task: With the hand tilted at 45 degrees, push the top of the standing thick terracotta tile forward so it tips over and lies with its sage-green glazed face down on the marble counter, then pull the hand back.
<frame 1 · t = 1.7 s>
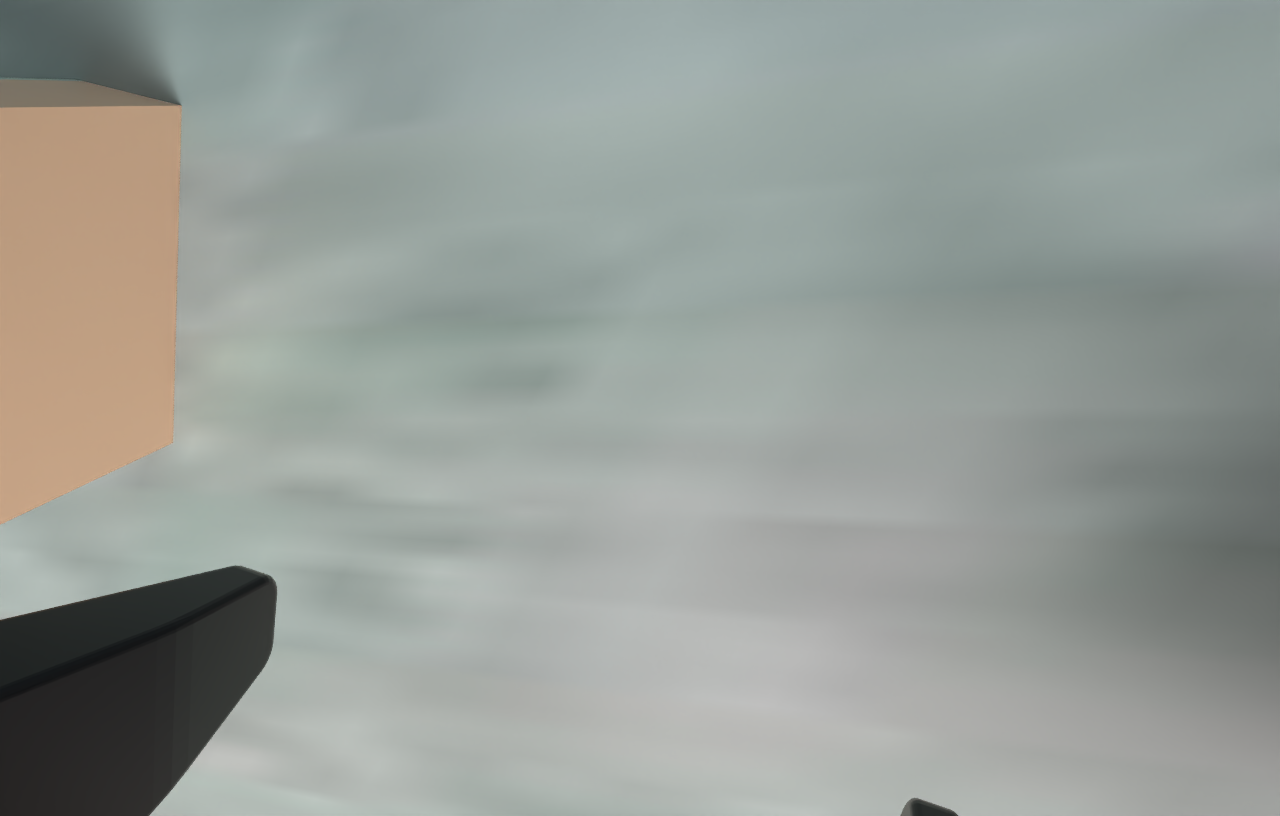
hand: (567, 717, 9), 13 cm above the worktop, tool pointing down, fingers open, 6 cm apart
tile: (128, 270, 25), on the worktop
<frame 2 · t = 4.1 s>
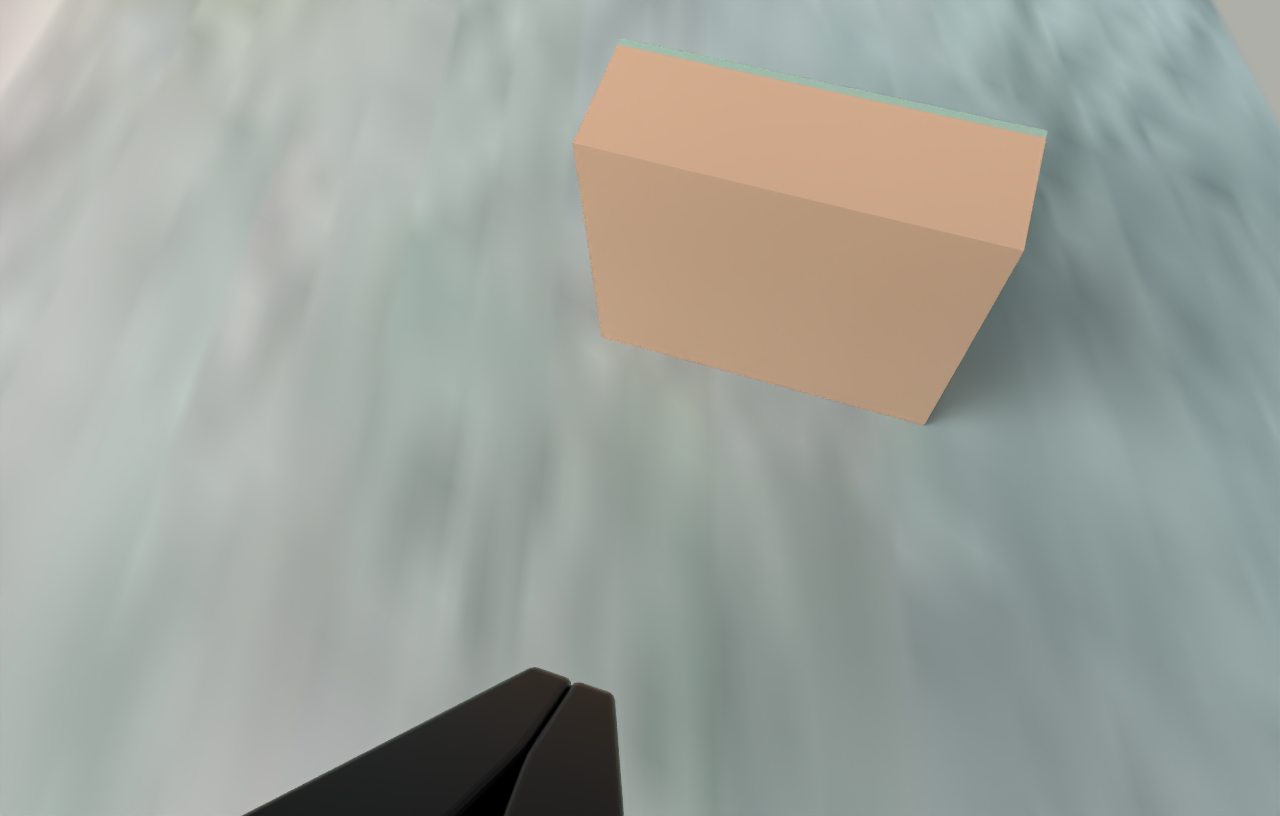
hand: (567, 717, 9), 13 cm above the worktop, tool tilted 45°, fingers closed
tile: (772, 334, 26), on the worktop
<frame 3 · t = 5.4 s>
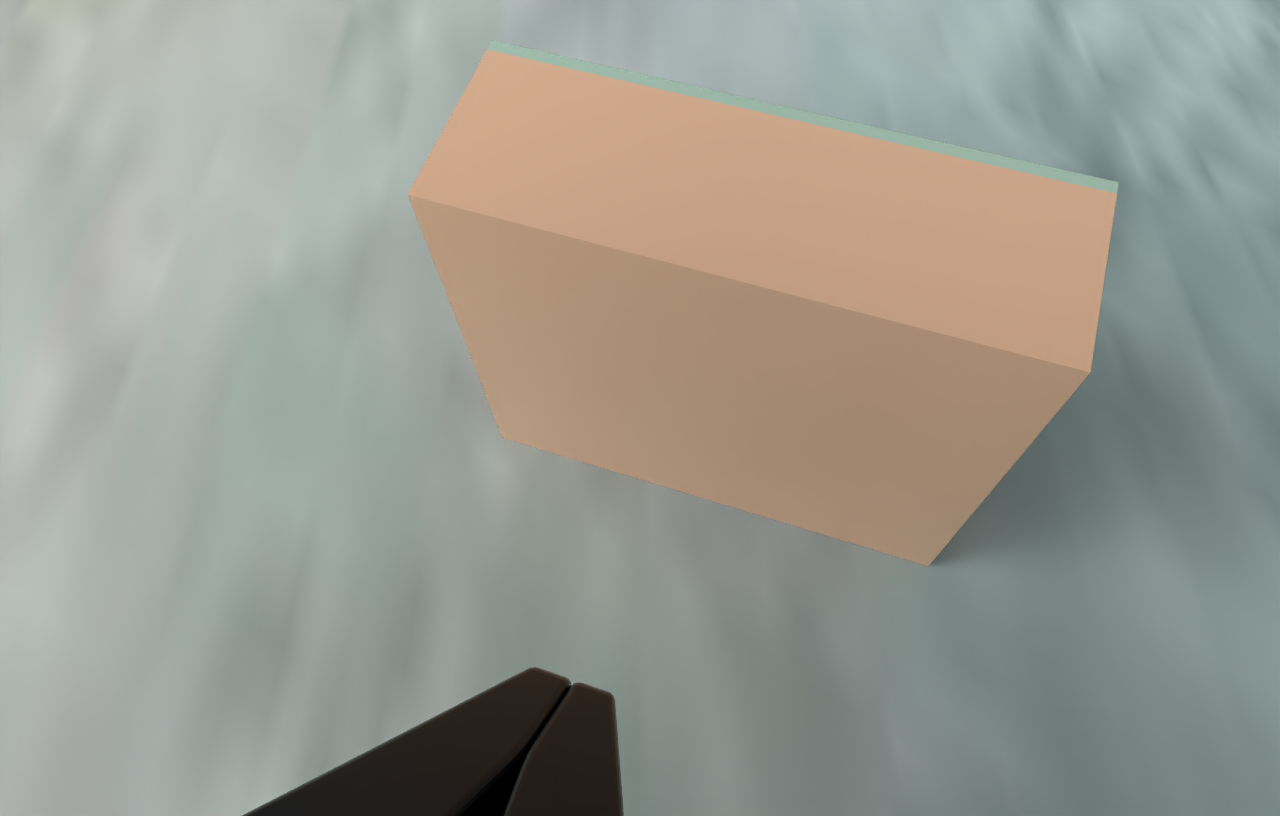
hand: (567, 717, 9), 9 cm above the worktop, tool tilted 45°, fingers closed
tile: (727, 436, 20), on the worktop
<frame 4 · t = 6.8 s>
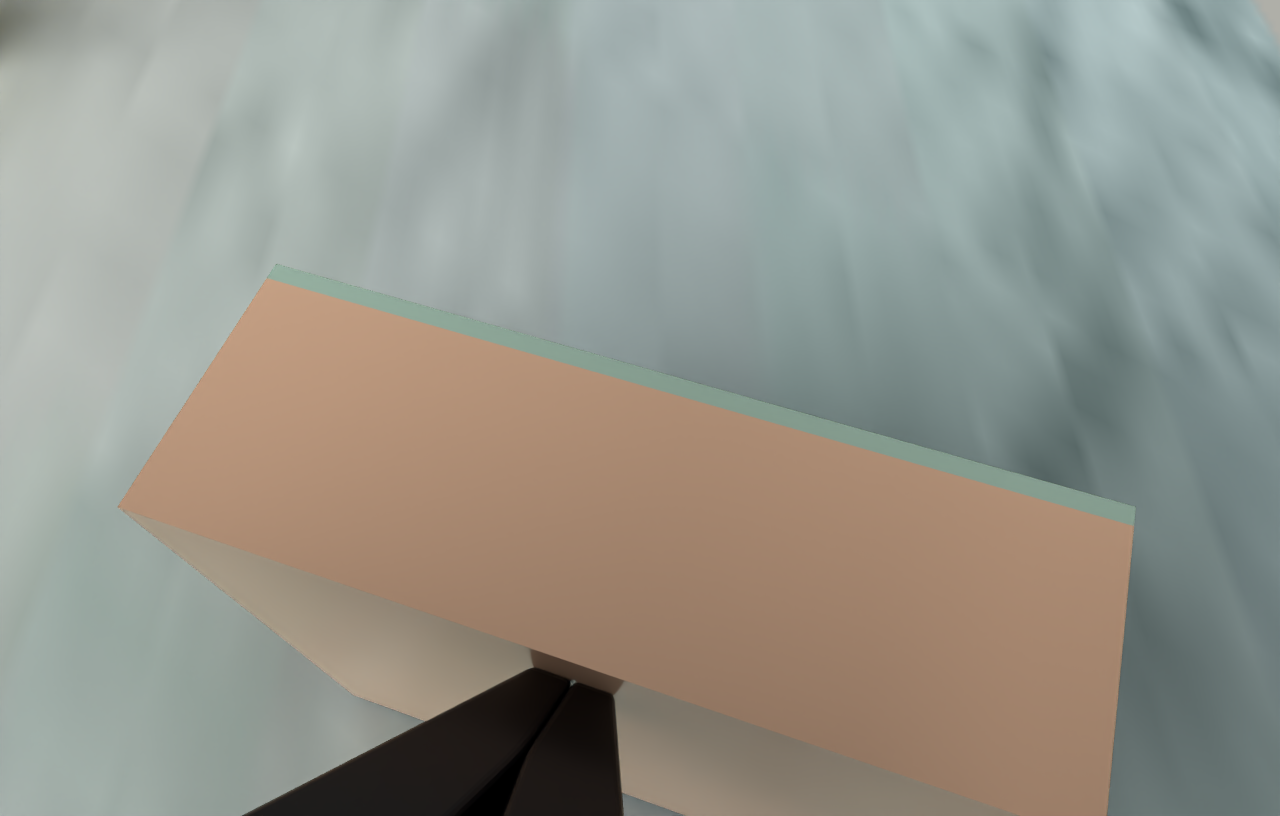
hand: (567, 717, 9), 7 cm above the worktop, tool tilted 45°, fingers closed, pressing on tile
tile: (636, 696, 16), on the worktop, touching gripper
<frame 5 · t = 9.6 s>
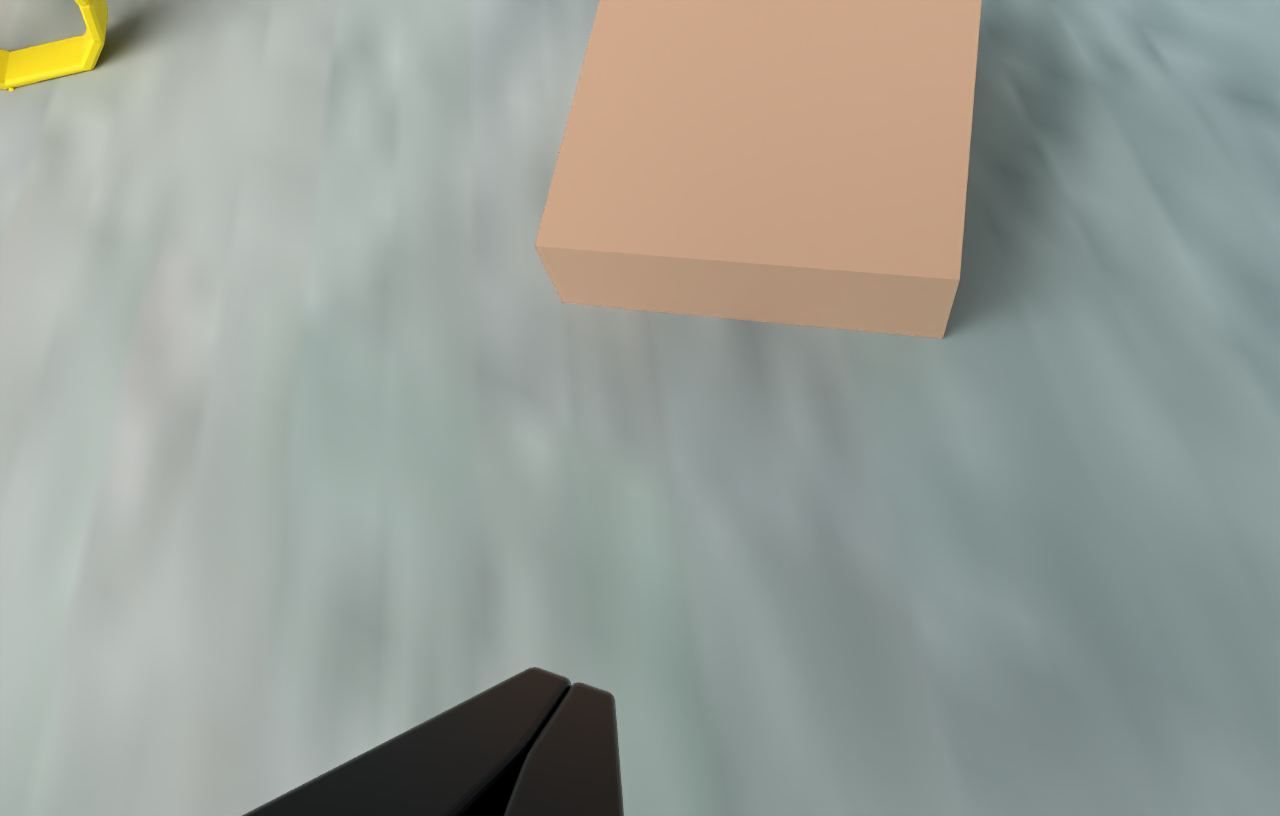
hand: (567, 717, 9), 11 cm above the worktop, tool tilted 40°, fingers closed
tile: (741, 297, 21), point 1 cm above the worktop, tilted 90°
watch: (57, 69, 30), on the worktop
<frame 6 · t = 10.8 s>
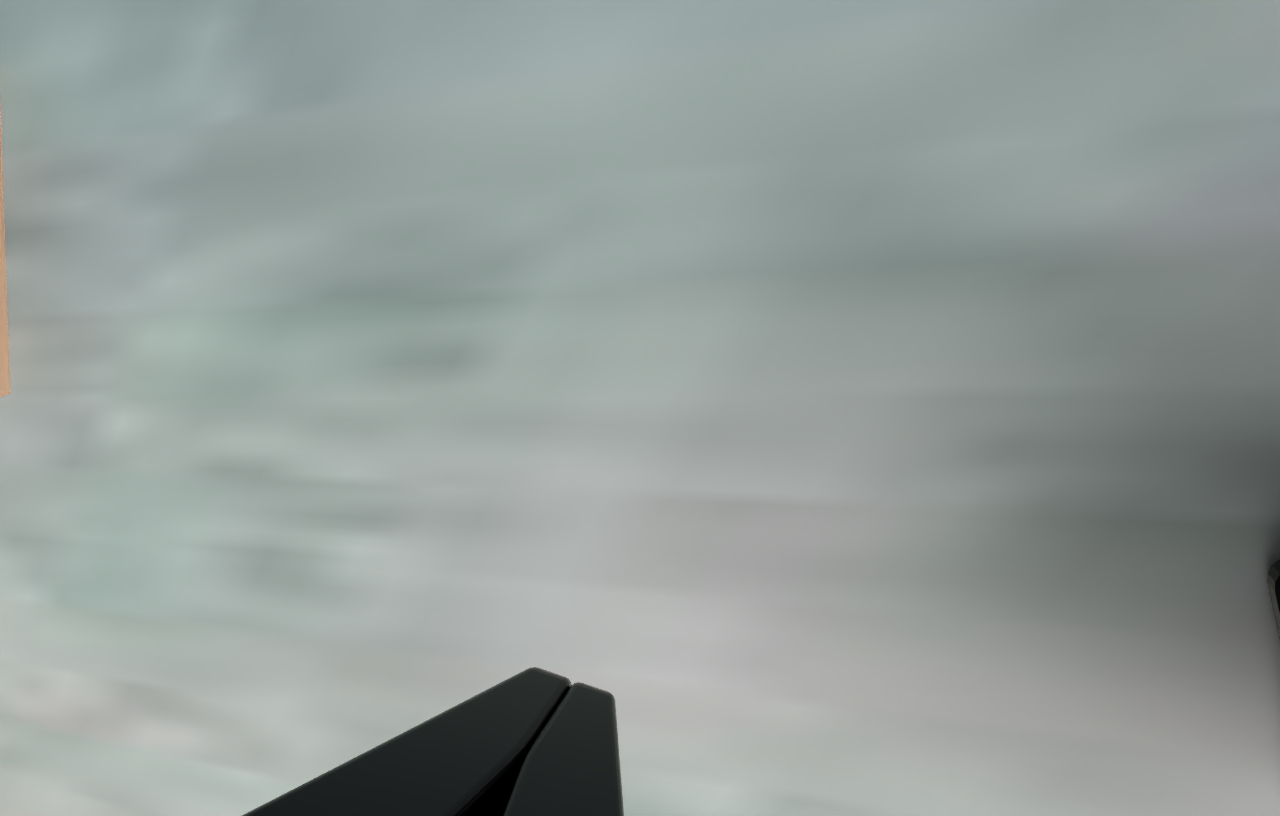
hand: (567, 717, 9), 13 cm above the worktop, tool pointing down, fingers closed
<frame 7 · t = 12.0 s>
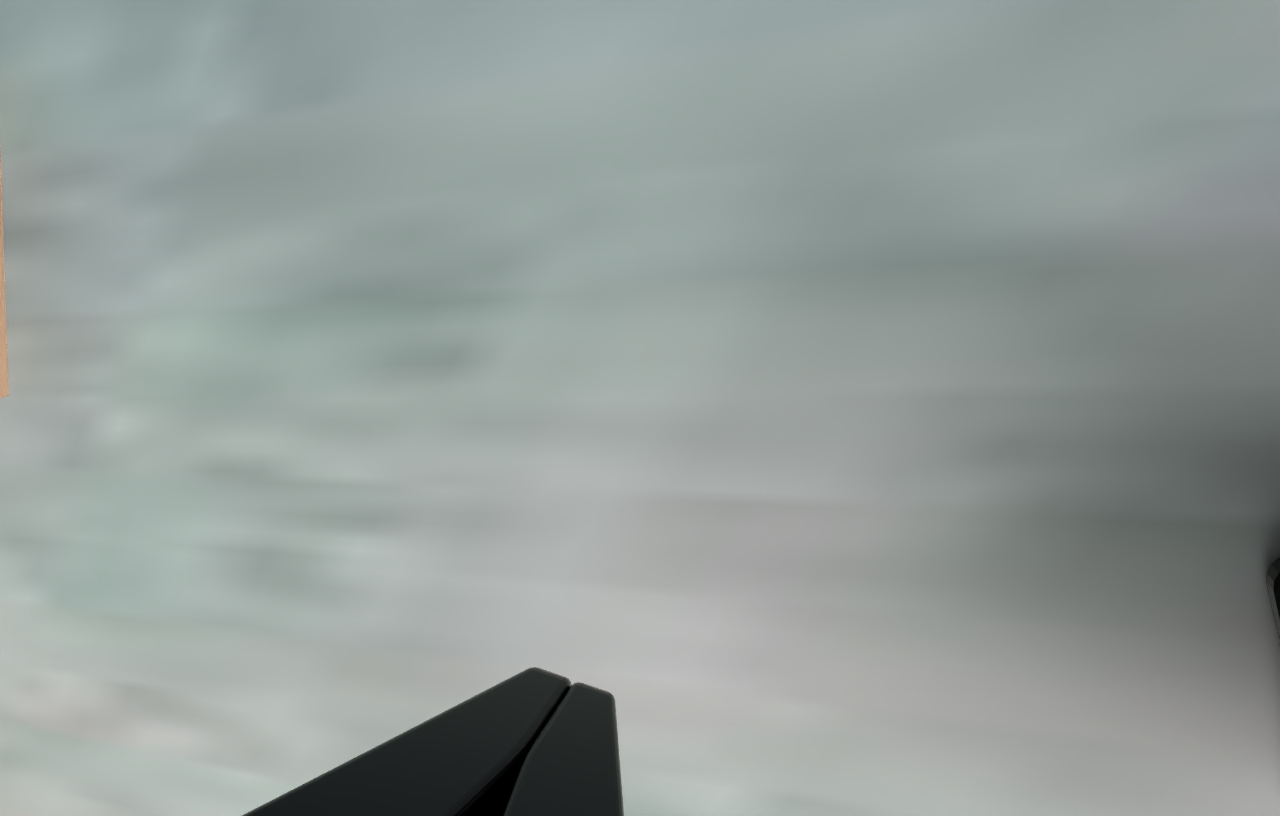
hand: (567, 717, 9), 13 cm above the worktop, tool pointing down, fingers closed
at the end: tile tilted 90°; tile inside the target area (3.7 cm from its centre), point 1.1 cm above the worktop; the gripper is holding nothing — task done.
